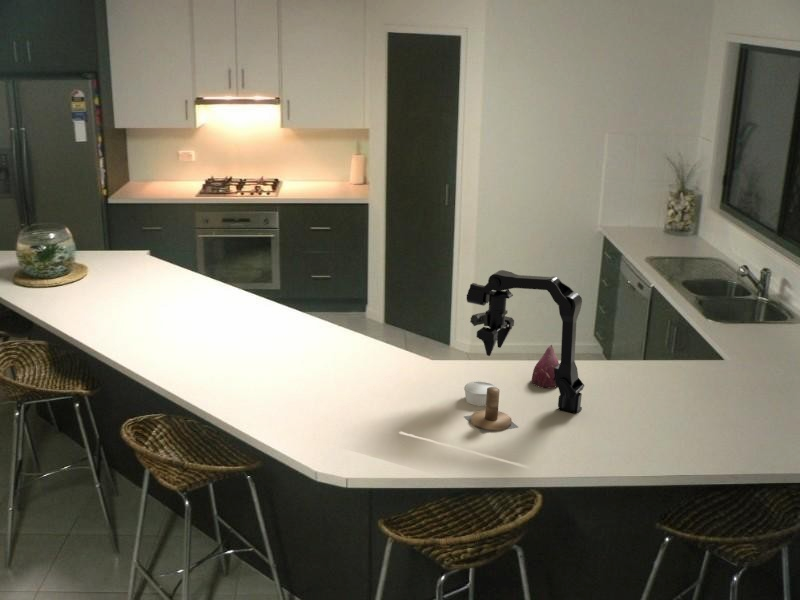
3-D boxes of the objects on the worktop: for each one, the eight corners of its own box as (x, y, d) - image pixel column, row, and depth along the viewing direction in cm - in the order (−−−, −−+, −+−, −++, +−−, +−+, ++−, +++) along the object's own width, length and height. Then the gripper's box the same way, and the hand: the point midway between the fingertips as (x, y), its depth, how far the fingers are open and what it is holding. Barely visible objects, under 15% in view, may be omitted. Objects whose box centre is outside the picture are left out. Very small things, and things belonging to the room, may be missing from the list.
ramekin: (497, 396, 343) (498, 382, 341) (496, 410, 332) (497, 395, 330) (464, 394, 344) (465, 379, 342) (462, 407, 333) (463, 392, 331)
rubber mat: (498, 412, 330) (498, 410, 330) (518, 428, 319) (518, 427, 319) (463, 418, 325) (463, 416, 324) (482, 435, 313) (483, 433, 313)
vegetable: (538, 384, 363) (540, 342, 362) (565, 387, 357) (567, 345, 357) (526, 386, 354) (528, 343, 353) (553, 389, 348) (556, 346, 348)
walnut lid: (517, 419, 324) (520, 387, 321) (501, 434, 313) (504, 401, 310) (480, 410, 330) (482, 378, 326) (463, 424, 319) (465, 391, 315)
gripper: (486, 296, 348) (483, 338, 353) (463, 310, 333) (460, 355, 337) (516, 302, 343) (512, 345, 348) (494, 317, 328) (491, 361, 333)
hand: (493, 351), depth 342 cm, fingers open, 9 cm apart
